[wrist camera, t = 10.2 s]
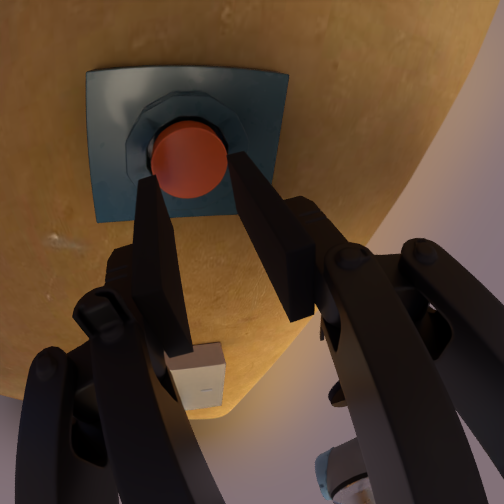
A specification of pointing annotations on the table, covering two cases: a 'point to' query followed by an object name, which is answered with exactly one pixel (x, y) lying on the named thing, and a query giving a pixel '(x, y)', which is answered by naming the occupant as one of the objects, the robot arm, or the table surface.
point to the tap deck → (199, 376)
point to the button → (188, 159)
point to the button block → (167, 113)
